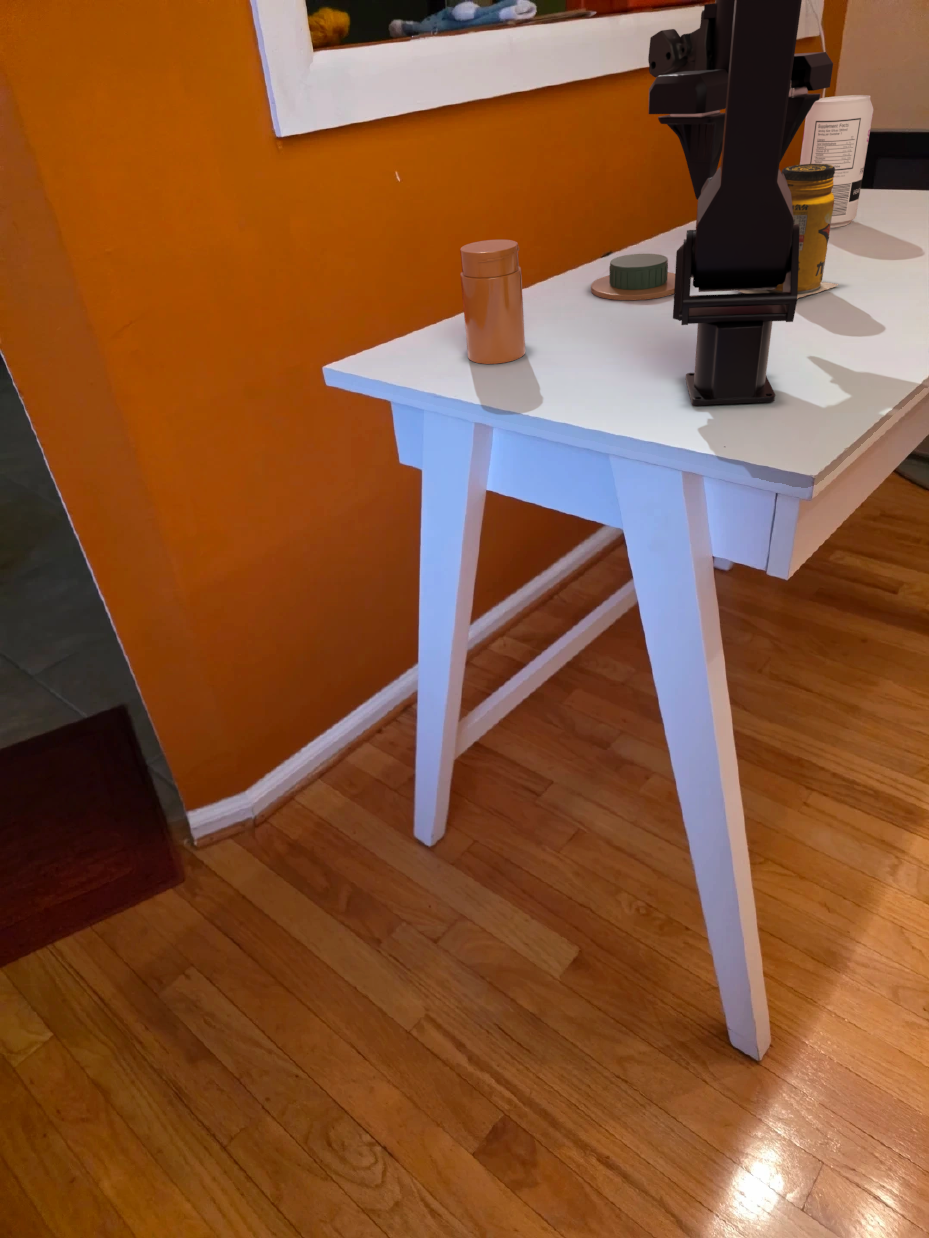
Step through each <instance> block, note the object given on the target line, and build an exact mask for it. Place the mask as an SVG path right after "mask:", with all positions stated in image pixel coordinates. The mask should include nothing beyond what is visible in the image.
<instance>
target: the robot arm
mask: <svg viewBox="0 0 929 1238" xmlns="http://www.w3.org/2000/svg"><path fill="white" fill-rule="evenodd" d="M802 2H803V0H715V1H714V3H707V4H703V6H704V7H703V9H702V11H701V14H700V25H699V28H697V29H695V30H693V31H692V32H689V33H683V34H681V35H680V34H679V33H678V31H677V30H676V29H675V28H669V29H662V30H660V31H658V32H656V33H655V34H653V35H651V36H650V37H649V48H648V56H647V57H648V58H647V60H648V61H647V62H648V72H649V74H650V75H651V76H652V77H654V78H655V79H654V81H653V82H652V83H651V85H650V87H649V88H648V110H647V111H648V112H647V113H648V115H660V116H658V117H657V120H658V122H659V123H660V124H661V125H666V126H667V127H668V128H669V129H671V131H673V133H674V134H675V135H676V136H677V138H678V140H679V143H680V145H681V148H682V152H683V155H684V158H685V161H686V165H687V170H688V173H689V177H690V181H691V185H692V190H693V192H694V196H695V199H696V200H697V205H696V207H697V208H696V221H695V229H687V230H686V235H685V237H686V239H685V238H684V239H683V243H682V245H680V247H678V248H677V249H676V255H675V271H674V272H675V287H674V294H673V308H672V309H673V311H672V319H673V320H677V321H679V322H680V321H681V324H680V325H681V326H688V325H690V324H691V325H695V324H697V331H696V345H695V359H694V360H695V362H694V372H687V373H686V374H685V382H686V387H687V389H688V390H687V391H688V394H689V398H690V402H691V404H692V405H696V406H707V405H708V406H709V405H710V406H711V405H729V404H730V405H731V404H732V405H733V404H734V405H735V404H753V403H756V404H757V403H772V402H775V400H776V393H775V391H774V389H773V387H772V384H771V383H770V381H769V379H768V376H767V371H768V370H767V369H768V363H769V362H768V361H769V354H770V345H771V338H772V329H773V322H785V323H794V319H795V314H796V308H797V303H798V299H797V295H798V265H799V234H800V229H799V224H794V218H793V208H792V199H791V192H790V190H789V188H788V186H787V181H786V179H785V176H784V174H783V173H782V171H781V169H780V164H781V162H782V160H783V158H784V156H785V154H786V152H787V151H788V149H789V147H790V145H791V143H792V142H793V139H794V137H795V136H796V134H797V132H798V130H799V129H800V127H801V126H802V124H803V122H804V121H805V120H806V116H807V114H808V112H809V111H810V109H811V107H812V106H813V104H814V102H815V101H818V100H819V99H820V98H821V96H822V95H821V93H809V92H814V91H818V90H824V89H828V88H831V82H832V77H833V76H832V75H833V69H834V68H833V67H834V62H833V61H832V59H831V58H830V56H829V55H828V53H827V52H826V51H819V52H816V51H815V52H802V53H796V47H797V39H798V31H799V25H800V17H801V10H802V8H801V7H802ZM722 110H725V111H724V112H721V111H722ZM719 164H720V165H719ZM692 278H693V279H692ZM691 281H692V286H693V288H695V289H698V293H707V292H708V293H711V292H735V291H737V292H740V290H766V289H776V288H777V285H782V284H783V292H772V293H722V294H700V295H699V294H692V295H691Z"/></svg>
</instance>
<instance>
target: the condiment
mask: <svg viewBox="0 0 929 1238" xmlns="http://www.w3.org/2000/svg"><path fill="white" fill-rule="evenodd" d="M781 173H783V174H784V176H785V179H786V181H787V186H788V188H789V190H790V192H791V199H792V208H793V218H794V224H799V229H800V234H799V265H798V295H797V300H798V299H799V298H803V297H807V296H809V295H814V294H818V293H820V292H823V291H827V290H830V289H833V288H835V287H837V286H838V285H839V283H833V282H828V281H827V282H826V281H825V282H823V277H824V272H825V271H824V270H825V267H826V266H825V264H826V260H827V253H828V252H827V251H828V244H829V240H830V232H831V228H830V226H831V219H832V213H833V207H834V195H833V193H832V188H833V185H834V184H833V178H834V174H835V167H833V166H832V165H828V164H802V165H800V164H795V165H791V166H786V167H783V168H782V170H781ZM739 292H740V294H745V293H772V292H783V284H782V285H777V288H776V289H766V290H740V291H739Z"/></svg>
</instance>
